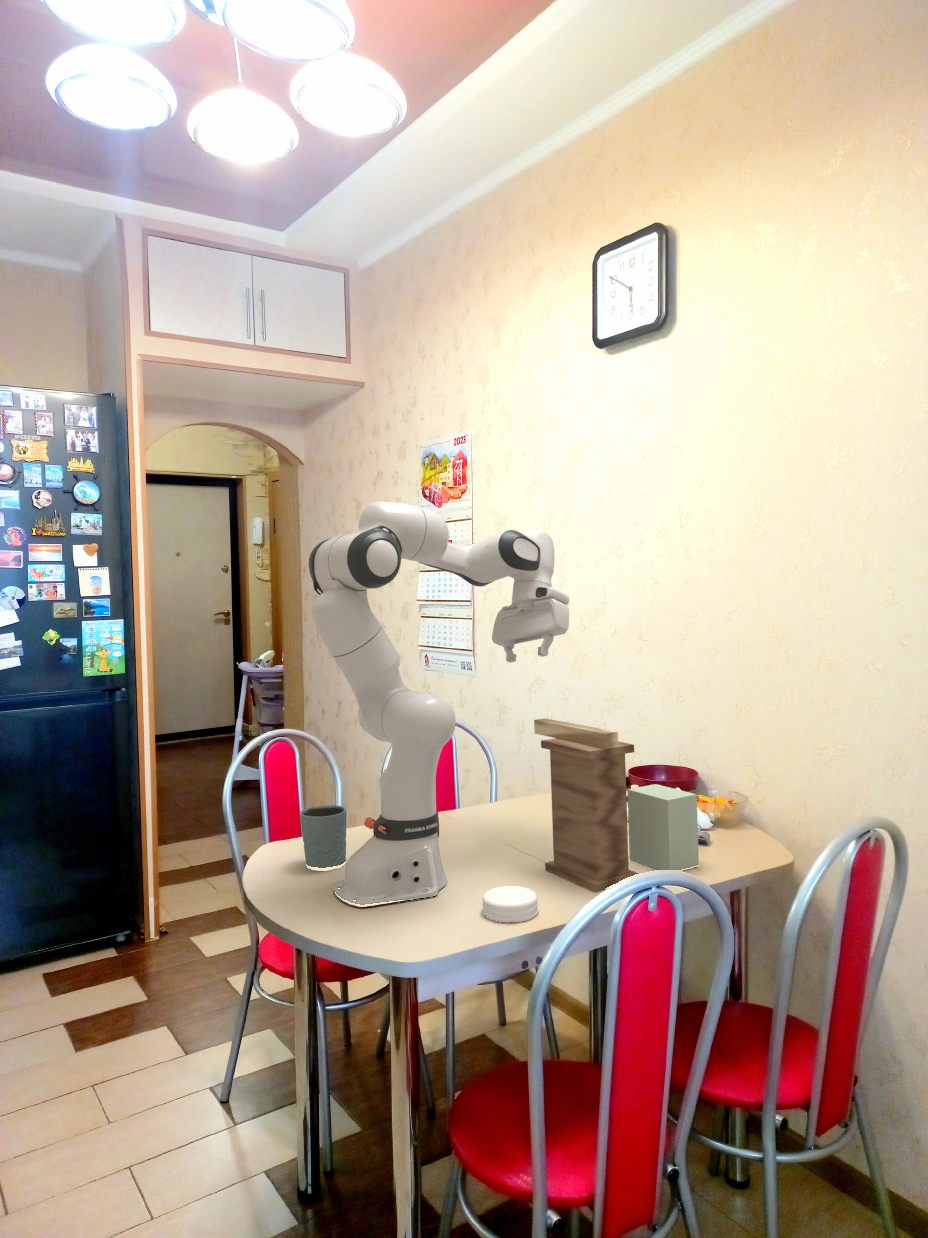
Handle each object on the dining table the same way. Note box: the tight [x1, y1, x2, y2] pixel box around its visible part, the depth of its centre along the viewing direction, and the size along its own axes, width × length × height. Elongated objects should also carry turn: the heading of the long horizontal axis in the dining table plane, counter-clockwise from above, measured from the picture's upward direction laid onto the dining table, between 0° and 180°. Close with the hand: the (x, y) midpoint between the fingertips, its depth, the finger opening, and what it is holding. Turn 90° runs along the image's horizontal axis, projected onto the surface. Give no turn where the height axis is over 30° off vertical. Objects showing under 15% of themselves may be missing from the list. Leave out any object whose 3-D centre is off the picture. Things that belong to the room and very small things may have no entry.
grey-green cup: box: [299, 804, 347, 868], centre depth 180 cm, size 10×10×12 cm
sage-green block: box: [627, 783, 700, 872], centre depth 173 cm, size 8×12×15 cm, turn 30°
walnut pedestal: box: [540, 738, 639, 893], centre depth 167 cm, size 11×16×27 cm
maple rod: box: [533, 717, 619, 749], centre depth 170 cm, size 3×24×3 cm, turn 30°
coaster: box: [481, 885, 539, 924], centre depth 149 cm, size 10×10×4 cm
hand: (526, 658), depth 181 cm, fingers open, 8 cm apart
